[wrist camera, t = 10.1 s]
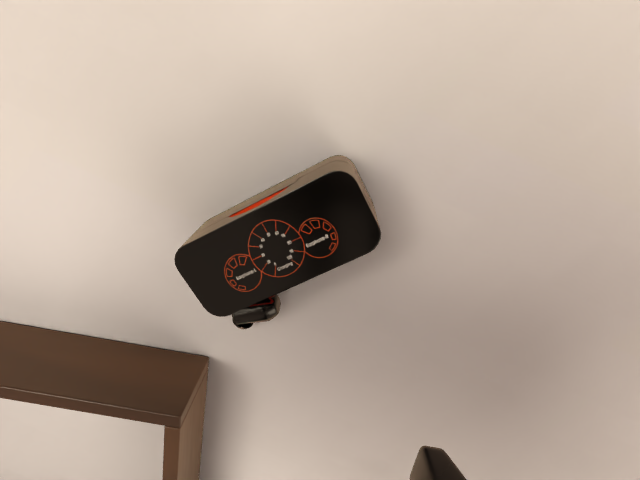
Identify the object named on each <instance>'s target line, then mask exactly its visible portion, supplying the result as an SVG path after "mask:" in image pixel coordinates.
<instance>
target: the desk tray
mask: <svg viewBox="0 0 640 480" xmlns="http://www.w3.org/2000/svg"><path fill="white" fill-rule="evenodd" d="M208 365H209V357H205V356H199V355H193V354H187V353H181V352H176V351H170V350H164V349H158V348H152V347H147V346H141V345H135V344H129V343H123V342H118V341H112V340H106V339H100V338H94V337H88V336H83V335H77V334H71V333H65V332H59V331H54V330H48V329H42V328H36V327H30V326H25V325H19V324H13V323H7V322H1V321H0V398H5V399H11V400H17V401H22V402H28V403H34V404H40V405H46V406H52V407H58V408H64V409H70V410H76V411H82V412H88V413H94V414H100V415H105V416H111V417H117V418H123V419H129V420H135V421H141V422H147V423H153V424H159V425H165V433H164V460H163V480H199V473H200V461H201V449H202V437H203V425H204V413H205V402H206V390H207V378H208Z"/></svg>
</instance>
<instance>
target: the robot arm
mask: <svg viewBox="0 0 640 480" xmlns="http://www.w3.org/2000/svg"><path fill="white" fill-rule="evenodd" d="M410 480H466V478H465V477H464V476H463V474H462V473H461V472H460V471H459V469H458V468H457V467H456V465H455V464H454V463H453V461H452V460H451V459H450V457H449V456H448V455H447V453H446V452H445V451H444V450H442V449H440V448H436V447H430V446H422V447H421V448H420V450H419V452H418V455H417V458H416V460H415V463H414V466H413V469H412V471H411V475H410Z"/></svg>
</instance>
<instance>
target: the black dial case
mask: <svg viewBox="0 0 640 480" xmlns="http://www.w3.org/2000/svg"><path fill="white" fill-rule="evenodd" d="M380 239H381V231H380V227H379V224H378V220H377V216H376V212H375V209H374V205H373V202H372V200H371V198H370V196H369V194H368V192H367V190H366V188H365V186H364V184H363V182H362V180H361V178H360V176H359V174H358V172H357V169H356V167H355V165H354V164H353V162H352V161H351V160H350V159H348V158H347V157H345V156H342V155H335V156H332V157H329V158H327V159H325V160H323V161H322V162H320V163H318V164H316V165H314V166H312V167H310V168H308V169H306V170H304V171H302V172H300V173H298V174H296V175H294V176H292V177H290V178H288V179H286V180H285V181H283V182H281V183H279V184H277V185H275V186H273V187H271V188H269V189H267V190H265V191H263V192H261V193H259V194H257V195H255V196H253V197H251V198H249V199H248V200H246V201H244V202H242V203H240V204H238V205H236V206H234V207H232V208H230V209H228V210H226V211H224V212H222V213H220V214H218V215H216V216H214V217H212V218H211V219H209V220H207V221H206V222H205V223H204V224H203V225H202V226H201V227H200V228H199V229H198V230H197V231H196V232H195V233H194V234H193V235H192V236H191V237H190V238H189V239H188V240H187V241H186V242H185V243H184V244H183V245H182V246H181V247H180V248H179V249H178V251H177V252H176V254H175V265H176V267H177V269H178V271H179V273H180V274H181V275H182V277H183V278H184V280H185V281H186V282H187V284H188V285H189V287H190V288H191V290H192V291H193V292H194V294H195V295H196V297H197V298H198V300H199V301H200V302H201V304H202V305H203V307H204V308H205V309H206V310H207V311H208V312H209V313H211V314H213V315H216V316H228V315H231V314H232V317H233V323H234V324H235V325H236V326H237V327H238V328H240V329H247V328H250V327H251V326H252V325H253V323H255V322H265V321H269V320H271V319H273V318H274V317H275V316H276V315H277V314H278V313H279V310H280V305H281V303H280V298H279V296H278V295H277V294H278V293H280V292H282V291H285V290H287V289H289V288H291V287H293V286H296V285H298V284H300V283H302V282H305V281H307V280H309V279H311V278H314V277H316V276H318V275H320V274H323V273H325V272H327V271H329V270H331V269H334V268H336V267H338V266H340V265H343V264H345V263H347V262H349V261H352V260H354V259H356V258H358V257H360V256H363V255H365V254H367V253H369V252H371V251H372V250H374V249H375V248H376V247H377V245H378V244H379V241H380ZM241 327H242V328H241Z"/></svg>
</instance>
